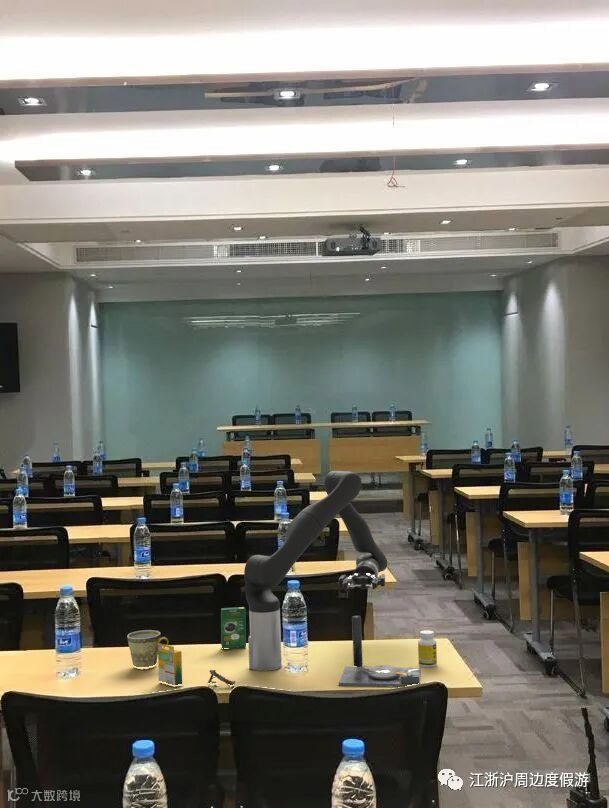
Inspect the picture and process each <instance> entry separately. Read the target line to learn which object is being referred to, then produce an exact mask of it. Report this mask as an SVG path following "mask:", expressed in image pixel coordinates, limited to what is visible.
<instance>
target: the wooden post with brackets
mask: <svg viewBox="0 0 609 808" xmlns="http://www.w3.org/2000/svg"><path fill="white" fill-rule="evenodd" d="M209 674H210V677H209V679H208V681H207V684H208V683H210V682H211V683H210V684H213V683H216V682H217V681H216V680H215V681H213V679H215V678H217V680H219V681H221V682H224V683H225V684H227V685H228V684H230V685H233V684H234V685H235V684H236V682H237V681H236V680H234V681H233V680H230V679H228V678H226V677H225V676H223V675H221V674H219V673H218V672H217V671H216V669H210V670H209Z"/></svg>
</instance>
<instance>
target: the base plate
mask: <svg viewBox="0 0 609 808" xmlns="http://www.w3.org/2000/svg"><path fill="white" fill-rule="evenodd" d="M397 668H399V669H400V672H401V673H406V674H407V675H401V676H399V677H397V678H393V679H374V678H371V677H369V676H368V672H367V671H362V670H357V666H344V669H343V671H342V673H341V677H340V678H339V681H338V687H349V686H350V687H383V688H384V687H386V686H393V687H395V688H398V686H407V685H412V684H418V683H419V684H420V680H421V670H422V669H421V667H397ZM393 687H392V688H393Z"/></svg>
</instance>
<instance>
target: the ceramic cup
mask: <svg viewBox="0 0 609 808" xmlns="http://www.w3.org/2000/svg"><path fill="white" fill-rule="evenodd" d="M126 638H127V642H128V647H129V651H130V657H131V661H132V666H133V665H134V666H136V667H149V666H153V665H155V664H156V663H158V643H160V642H161V641H162V640H165V641H166V644H165V645H169V642H170V641H169V639H168V638H167V637H166V636H162V637H161V632H160V631H159V630H152V629H148V630H147V629H145V630H144V629H143V630H137V631H133V632H130V633H128V634H127V637H126ZM160 644H161V643H160ZM162 648H167V647H166V646H165V647H162Z"/></svg>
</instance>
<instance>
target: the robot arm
mask: <svg viewBox="0 0 609 808" xmlns="http://www.w3.org/2000/svg"><path fill="white" fill-rule="evenodd" d="M323 483H324V484H323V486H324V489H325V493H326V496H325V497H323V498H321V499H319V500H317V501H315V502H314V503H311V504H309V505H307V506H306V507H305V508H303V509H302V510H300V512H298V514H297V515H296V516H295V517H294V518H293V519H292V520H291V521H290V523H289V524H288V526H287V529H286V534H285V540H284V542H283V543H282V544H281V546H280V547H279V548H278V549H277V550H276V551H275V552H274V553H273V554H272V555H270V556H269V555H261V554H255V555H252V556H250V557H249V558H248V559H247V561H246V563H245V565H244V572H243V574H244V575H243V576H244V588H245V589H244V590H245V599H246V601H247V605H248V612H249V613H248V614H249V615H248V616H249V635H248V639H247V640H248V643H247V644H248V665H249V667H248V668H249V670H255V671H260V672H262V671H263V672H265V671H267V672H268V671H275V670H277V669H280V668H282V666H283V665H282V659H283V657H282V639H281V637H282V636H281V634H282V633H281V631H282V630H281V612H280V611H281V608H280V605H281V603H280V599H279V598H278V597H277V596H276V595H275V594H274V593H273V591H272V590H271V589H273V588H275V587H277V586H278V585H279V584H280V583H282V581H283V580H284V578H286V576H287V574H288V573H289V571H290V570H291V569H292V567H293V566H294V564H295V563H296V562H297V560H298V559H299V558H301V556H302V555H303V553H305V551H306V550H307V549H308V547H309V546H310V545H311V544H312V543H313V542H314V541H316V539H317V538H318V537H319V536H320V534H321V533H322V532H323V531H324V529H325V528H326V527H327V526H328V525H329V524H330V523H331V522H332V521H333V520H334V519H335V518H336V517H337V515H339V517H340V518H341V520H342V522H343V523H344V525H345V528H346V529H347V533H348V534H349V537H350V540H351V542H352V545H353V547H354V549H355V551H356V552H358V553H364V554H361V555H359V556H358V557H357V558H356V560H355V565H356V566H355V569H354V570H353V573H352V574H351V575H349V576H347V575H346V574H342V575H340V577H339V578H338V587H339V588H343V589H344V590H345V591H346V590H348V589H349V587H350V588H355V587H358V588H359V589H362V590H366V589H370V588H372V590H376V589H377V588H378V587H379V586H380V587H383V588H384V587H385V586H386V574H384V573H381V572H384V571H386V570H387V568H388V560H387V559H388V558H387V557H386V554H384V552H383V551H382V549H381V548H380V547H379V546H378V545H377V543H376V542H375V540H374V537H373V535H372V532H371V529H370V527H369V525H368V523H367V521H366V520H365V519H364V518H363V516H362V515H361V514H360V513H359V511H357V510H356V508H355V507H354V506H353V504H352V503H351V502H353V501H354V500H355V498H356V497H358V495H359V493H360V492H361V489H362V483H363V482H362V478H361V477H360V475H359V474H358V473H356V472H354V471H349V470H348V471H347V470H346V471H345V470H332V471H330V472H328V473H327V474H326V476H325V477H324V482H323ZM380 573H381V574H380ZM379 574H380V575H379Z"/></svg>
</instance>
